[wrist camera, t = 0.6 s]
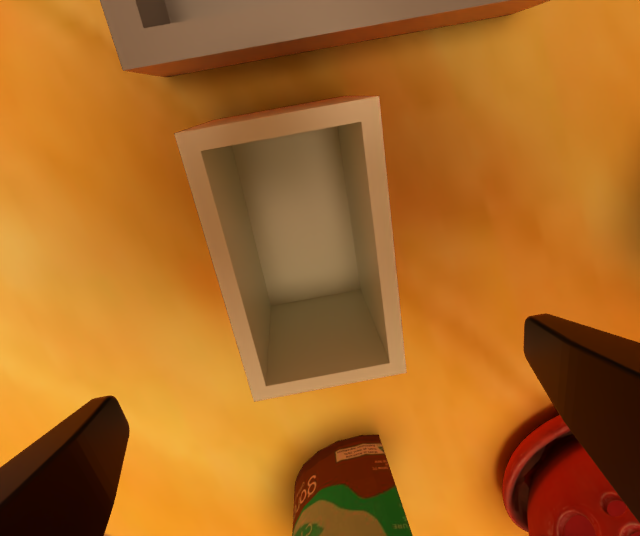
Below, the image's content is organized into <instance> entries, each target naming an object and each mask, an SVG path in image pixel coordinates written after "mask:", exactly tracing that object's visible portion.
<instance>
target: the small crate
mask: <svg viewBox="0 0 640 536" xmlns="http://www.w3.org/2000/svg"><path fill="white" fill-rule="evenodd" d="M174 135H175V138H176V142H177V145H178V148H179V152H180V155H181V158H182V162H183V165H184V168H185V172H186V175H187V178H188V182H189V185H190V188H191V192H192V195H193V199H194V202H195V205H196V209H197V212H198V215H199V219H200V222H201V225H202V229H203V232H204V235H205V239H206V242H207V245H208V249H209V252H210V256H211V259H212V262H213V266H214V269H215V272H216V276H217V279H218V282H219V286H220V289H221V292H222V296H223V299H224V303H225V306H226V309H227V313H228V316H229V319H230V323H231V326H232V329H233V333H234V336H235V339H236V343H237V346H238V349H239V353H240V356H241V360H242V363H243V366H244V370H245V373H246V376H247V380H248V383H249V386H250V390H251V393H252V396H253V400H254V401H260V400H265V399H270V398H276V397H281V396H286V395H291V394H297V393H302V392H307V391H313V390H318V389H323V388H328V387H334V386H339V385H344V384H350V383H355V382H360V381H365V380H371V379H376V378H381V377H387V376H392V375H397V374H402V373H407V372H406V362H405V352H404V342H403V332H402V322H401V312H400V302H399V292H398V282H397V272H396V261H395V251H394V241H393V231H392V221H391V211H390V201H389V191H388V181H387V171H386V161H385V151H384V140H383V130H382V120H381V110H380V100H379V96H342V97H336V98H331V99H326V100H320V101H315V102H309V103H304V104H298V105H293V106H287V107H282V108H276V109H271V110H265V111H260V112H254V113H249V114H243V115H238V116H233V117H227V118H222V119H216V120H212V121H209V122H206V123H203V124H200V125H197V126H195V127H192V128H189V129H186V130H183V131H180V132H177V133H174Z"/></svg>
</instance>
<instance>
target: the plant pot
mask: <svg viewBox="0 0 640 536" xmlns="http://www.w3.org/2000/svg"><path fill="white" fill-rule="evenodd" d="M502 492H503V501H504V505H505V508H506V510H507V513H508V515H509V517H510V518H511V519H512V521H513V522H514V523H515V524H516V525H517V526H519V527H520V528H521V529H523V530H525V531H527V532H529V536H640V523H639V522H638V520H637V519H636V518H635V516H634V515H633V514H632V512H631V511H630V510H629V508H628V507H627V506H626V504H625V503H624V502H623V500H622V499H621V498H620V496H619V495H618V494H617V492H616V491H615V490H614V488H613V487H612V486H611V484H610V483H609V482H608V480H607V479H606V478H605V476H604V475H603V474H602V472H601V471H600V470H599V468H598V467H597V465H596V464H595V463H594V461H593V460H592V459H591V457H590V456H589V455H588V453H587V452H586V451H585V449H584V448H583V447H582V445H581V444H580V443H579V441H578V440H577V439H576V437H575V436H574V435H573V433H572V432H571V431H570V429H569V428H568V426H567V425H566V424H565V422H564V421H563V419H562V418H561V416H560V415H559V416H557V417H555V418H553V419H551V420H549V421H547V422H546V423H544V424H542V425H541V426H540V427H538V428H537V429H535V430H534V431H533V432H532V433H530V434H529V435H528V436H527V437H526V438H525V439H524V440H523V441H522V442H521V443H520V444H519V446H518V447H517V448H516V450H515V451H514V453H513V454H512V456H511V458H510V460H509V462H508V464H507V467H506V470H505V473H504V478H503V490H502Z"/></svg>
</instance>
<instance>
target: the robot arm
mask: <svg viewBox="0 0 640 536" xmlns="http://www.w3.org/2000/svg"><path fill="white" fill-rule="evenodd" d="M524 353H525V357H526V359H527V361H528V363H529V364H530V366H531V368H532V369H533V371H534V373H535V374H536V376H537V378H538V379H539V381H540V383H541V385H542V386H543V388H544V390H545V391H546V393H547V395H548V396H549V398H550V400H551V401H552V403H553V405H554V406H555V408H556V410H557V411H558V413H559V415H560V416H561V418H562V419H563V421H564V422H565V424H566V425H567V426H568V428H569V429H570V431H571V432H572V433H573V435H574V436H575V437H576V439H577V440H578V441H579V443H580V444H581V445H582V447H583V448H584V449H585V451H586V452H587V453H588V455H589V456H590V457H591V459H592V460H593V461H594V463H595V464H596V465H597V467H598V468H599V470H600V471H601V472H602V474H603V475H604V476H605V478H606V479H607V480H608V482H609V483H610V484H611V486H612V487H613V488H614V490H615V491H616V492H617V494H618V495H619V496H620V498H621V499H622V500H623V502H624V503H625V504H626V506H627V507H628V508H629V510H630V511H631V512H632V514H633V515H634V516H635V518H636V519H637V520H638V522H639V523H640V343H638V342H635V341H632V340H629V339H626V338H623V337H619V336H616V335H613V334H610V333H607V332H604V331H600V330H597V329H594V328H591V327H588V326H585V325H581V324H578V323H575V322H572V321H569V320H566V319H562V318H559V317H556V316H553V315H550V314H540V315H534V316H529V317H528V318H527V319H526V320H525V327H524ZM128 438H129V424H128V422H127V419H126V417H125V415H124V413H123V411H122V409H121V407H120V405H119V403H118V401H117V399H116V398H115V397H114V396H105V397H99V398H94V399H92V400H90V401H89V402H88V403H86V404H85V405H84V406H82V407H81V408H80V409H78V410H77V411H76V412H74V413H73V414H72V415H70V416H69V417H68V418H66V419H65V420H63V421H62V422H61V423H59V424H58V425H57V426H55V427H54V428H53V429H51V430H50V431H49V432H47V433H46V434H45V435H43V436H42V437H41V438H39V439H38V440H37V441H35V442H34V443H33V444H31V445H30V446H29V447H27V448H26V449H25V450H23V451H22V452H20V453H19V454H18V455H16V456H15V457H14V458H12V459H11V460H10V461H8V462H7V463H6V464H4V465H3V466H2V467H0V536H104V533H105V530H106V527H107V524H108V521H109V517H110V514H111V511H112V508H113V504H114V500H115V496H116V492H117V488H118V483H119V479H120V474H121V470H122V465H123V461H124V456H125V452H126V447H127V443H128Z"/></svg>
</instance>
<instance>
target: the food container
mask: <svg viewBox="0 0 640 536" xmlns="http://www.w3.org/2000/svg"><path fill="white" fill-rule="evenodd" d="M292 536H412V533H411V530H410V527H409V524H408V521H407V518H406V515H405V512H404V509H403V506H402V503H401V500H400V497H399V494H398V491H397V488H396V485H395V482H394V479H393V476H392V473H391V470H390V467H389V464H388V462H387V459H386V456H385V453H384V450H383V447H382V444H381V441H380V438H379V435H361V436H357V437H353V438H349V439H345V440H340V441H337V442H335V443H333V444H331V445H329V446H328V447H326V448H324V449H322V450H320V451H318V452H317V453H316V454H315V455H314V456H313V457H312V458H310V459H309V460H308V461H307V462H306V463H305V464H304V465H303V467H302V469H301V470H300V472H299V474H298V476H297V479H296V482H295V493H294V513H293V533H292Z"/></svg>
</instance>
